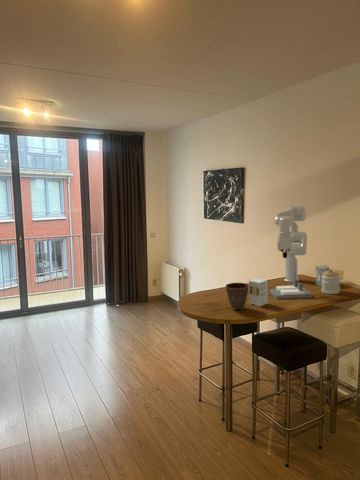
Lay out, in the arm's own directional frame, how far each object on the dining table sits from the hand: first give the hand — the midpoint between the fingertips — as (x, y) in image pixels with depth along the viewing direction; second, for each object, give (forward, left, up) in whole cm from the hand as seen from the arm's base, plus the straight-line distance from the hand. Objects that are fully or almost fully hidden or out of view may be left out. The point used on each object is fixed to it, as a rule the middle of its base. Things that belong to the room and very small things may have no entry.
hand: (284, 257), depth 273 cm
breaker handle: (+15, +6, -21) cm, 27 cm away
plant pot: (+36, -43, -26) cm, 62 cm away
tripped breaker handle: (+5, +6, -21) cm, 23 cm away
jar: (+8, +32, -26) cm, 42 cm away
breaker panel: (+10, +1, -26) cm, 28 cm away
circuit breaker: (-12, +37, -26) cm, 47 cm away
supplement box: (+28, -27, -26) cm, 47 cm away
